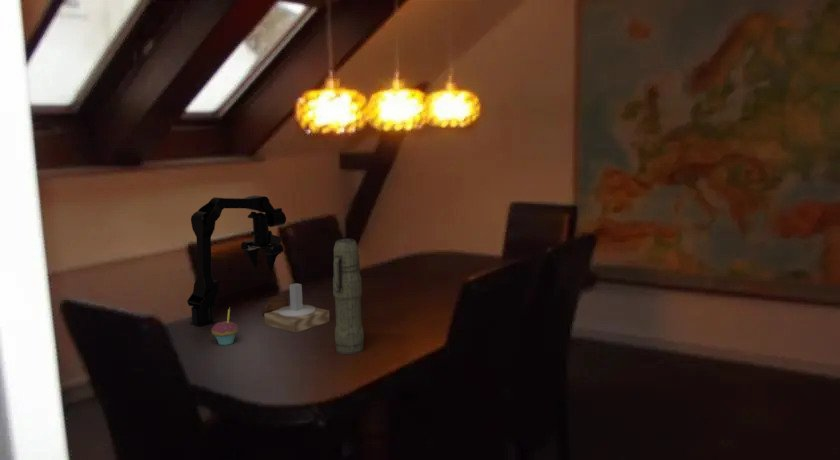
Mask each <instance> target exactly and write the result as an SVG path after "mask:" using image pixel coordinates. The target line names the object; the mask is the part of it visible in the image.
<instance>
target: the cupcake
mask: <svg viewBox="0 0 840 460" xmlns="http://www.w3.org/2000/svg"><path fill="white" fill-rule="evenodd" d="M230 313H231V307H229V308H228V309H227V317H226V318H227V320H225V321H219V322H216V323H215V324H214V325H213V326H212V327H211V335H213V336H214V337H215V338H216V341H217V342H218V343H217V344H218V345H220V346H228V345H232V344H233V343H234V341H235V337H236V334H237V333H238V332H239V328H240V327H239V325H238V324H237V323H235V322H233V321H230V316H231V314H230Z"/></svg>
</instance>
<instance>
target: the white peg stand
mask: <svg viewBox="0 0 840 460" xmlns="http://www.w3.org/2000/svg"><path fill="white" fill-rule="evenodd" d="M289 301H290V302H289V305H288V306H285V307H282V308H280V309H279V310H278V314H279V315H280V316H283V317H303V316H308V315H311V314H313V313H315V308H316V307H315V306H314V305H310V304H303V287H302V284H301V283H291V284H289Z"/></svg>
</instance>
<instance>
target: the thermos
mask: <svg viewBox="0 0 840 460" xmlns="http://www.w3.org/2000/svg"><path fill="white" fill-rule="evenodd" d="M334 243H335V244H334V246H333V262H332V265H333V277H332V290H333V291H332V294H333V298H334V303H335V305H334V306H335V307H334V308H335V328H334V343H335V351H336V353H338V354H340V355H341V354H342V355H353V354H359V353H361V352H363V351H364V349H365V348H364V342H365V339H364V338H365V335H364V327H363V324H362V301H361V299H362V295H363V288H362V287H363V285H362V281H363V280H362V276H361V269H360V268H361V266H360V254H359V247H358V244H357V242H356V240H355V239H353V238H339V239H338V240H336V241H335V242H334Z"/></svg>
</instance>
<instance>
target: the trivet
mask: <svg viewBox="0 0 840 460" xmlns="http://www.w3.org/2000/svg"><path fill="white" fill-rule="evenodd" d="M263 315H264V326H269V327H273V328H276V329H279V330H283V331H287V332H291V333H292V332H293V333H298V332H301V331H304V330H308V329H310V328H314V327H317V326H320V325H323V324H326V323H329V322H330V310H328V309H325V308H324V309H323V308H318V307H315V313H313V314H311V315H308V316H303V317H283V316H280V315H279V314H278V310H276V311H272V312H269V313H265V314H263Z"/></svg>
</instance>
